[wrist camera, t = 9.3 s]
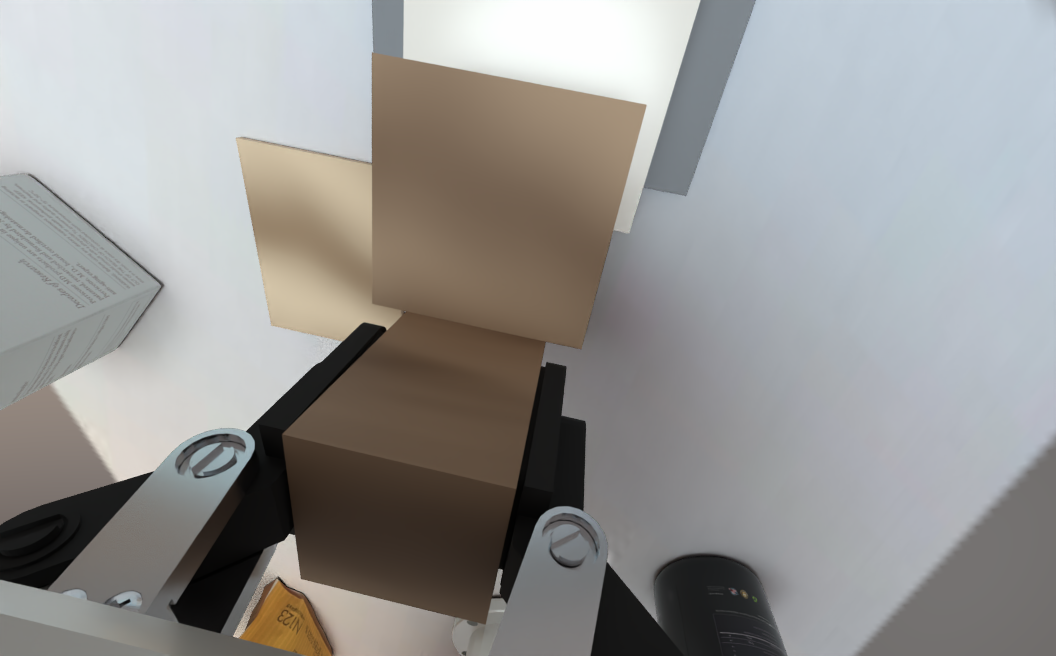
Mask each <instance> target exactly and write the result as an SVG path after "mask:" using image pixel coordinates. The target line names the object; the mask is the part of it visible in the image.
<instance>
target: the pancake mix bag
mask: <svg viewBox="0 0 1056 656" xmlns="http://www.w3.org/2000/svg"><path fill="white" fill-rule="evenodd" d="M239 639H243V640H247V641H251V642H255V643H259V644H263V645H267V646H271V647H274V648H278V649H282V650H286V651H290V652H294V653H298V654H302V655H306V656H332V649H331V647H330V645H329V643H328V640H327V638H326V636H325V633H324V631H323V630H322V628H321V626H320V624H319V622H318V621H317V619H316V616H315V613H314V611H313V609H312V607H311V605H310V603H309V601H308V600H307V599H306V597H305V596H304V594H302V593H299V592H297V591H295V590H292V589H290V588H287V587H286V586H285V585H284V584H282V583H281V582H280V581H279V580H278V579H275V580H274V581H273V582H271V583H269V584H267V585H266V586H265V587H264V590H263V593H262V596H261V598H260V600H259V602H258V603H257V605H256V607H255V608H254V610H253V611H252V614H251V616H250V619H249V621H248V624H247V627H246V629H245V631H244V632H243V634H242V635H241V636H240V637H239Z"/></svg>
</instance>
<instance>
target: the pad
mask: <svg viewBox="0 0 1056 656" xmlns="http://www.w3.org/2000/svg"><path fill="white" fill-rule="evenodd" d="M236 141H237V146H238V152H239V157H240V162H241V167H242V173H243V178H244V183H245V189H246V194H247V199H248V204H249V210H250V215H251V220H252V226H253V231H254V236H255V241H256V247H257V252H258V257H259V263H260V268H261V273H262V278H263V284H264V289H265V294H266V300H267V305H268V310H269V315H270V321H271V325H272V326H276V327H281V328H285V329H290V330H294V331H299V332H303V333H308V334H312V335H317V336H321V337H326V338H330V339H335V340H339V341H344V340H345V339H346V338H347V337H348V336H349V335H350V334H351V333H352V332H353V331H354V330H355V329H356V328H357V327H358V326H359V325H360V324H362V323H363V322H366V323H371V324H375V325H380V326H384V327H385V328H386V330H388V329H389V328H390V327H391V326H392V325H393V324H394V323H395V322H396V321H397V320H398V319H399V318H400V317H401V316H402V315H403V314H404V311H402V310H398V309H393V308H389V307H384V306H379V305H375V304H372V163H367V162H362V161H357V160H352V159H347V158H342V157H337V156H332V155H327V154H322V153H317V152H312V151H307V150H302V149H297V148H293V147H288V146H283V145H278V144H273V143H268V142H263V141H258V140H253V139H248V138H243V137H239V138H236Z"/></svg>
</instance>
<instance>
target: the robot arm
mask: <svg viewBox="0 0 1056 656" xmlns="http://www.w3.org/2000/svg"><path fill="white" fill-rule="evenodd" d="M386 331H387V330H386V328H385V327H384V326H380V325H375V324H371V323H366V322H363V323H362V324H360V325H359V326H358V327H357V328H356V329H355V330H354V331H353V332H352V333H351V334H350V335H349V336H348V337H347V338H346V339H345V340H344V341H343V342H342V343H341V344H340V345H339V346H338V347H337V348H336V349H335V350H334V351H333V352H332V353H330V354H329V355H328V356H327V357H326V358H325V359H324V360H323V361H322V362H321V363H318V364H316V365H315V366H314V367H313V368H311V369H310V370H309V371H308V372H307V373H306V374H305V375H304V376H303V377H302V378H301V379H300V380H299V381H298V382H297V383H296V384H295V385H294V386H293V387H292V388H291V389H290V390H289V391H288V392H286V393H285V394H284V395H283V396H282V397H281V398H280V399H279V400H278V401H277V402H276V403H275V404H274V405H273V406H272V407H271V408H270V409H269V410H268V411H267V412H266V413H265V414H264V415H262V416H261V417H260V418H259V419H258V420H257V421H256V422H255V423H254V424H253V425H252V426H251V427H250V428H249V429H248V430H247V431H246V432H245V431H243V430H239V429H234V428H220V429H215V430H211V431H206V432H204V433H201V434H199V435H196V436H193V437H192V438H190V439H188V440H187V441H185V442H183V443H182V444H180V445H179V446H178V447H177V448H176V449H175V450H174V451H172V452H171V454H170V455H169V456H168V457H167V458H166V459H165V460H164V461H163V462H162V464H161V465H160V466H159V467H158V468H157V469H156V470H155V471H153V472H150V473H147V474H143V475H140V476H137V477H133V478H130V479H127V480H124V481H120V482H117V483H114V484H111V485H107V486H104V487H100V488H97V489H94V490H91V491H88V492H84V493H81V494H77V495H74V496H71V497H68V498H64V499H61V500H58V501H54V502H51V503H48V504H44V505H41V506H39V507H36V508H34V509H31V510H28V511H26V512H23V513H21V514H19V515H17V516H16V517H14V518H12V519H10V520H8V521H6V522H4V523H3V524H1V525H0V656H306V655H302V654H298V653H294V652H290V651H286V650H282V649H278V648H274V647H271V646H267V645H263V644H259V643H255V642H251V641H247V640H243V639H239V638H235V637H233V635H234V633H235V631H236V629H237V627H238V624H239V622H240V620H241V618H242V616H243V614H244V612H245V610H246V608H247V606H248V604H249V602H250V600H251V598H252V596H253V594H254V592H255V590H256V588H257V586H258V584H259V582H260V580H261V578H262V576H263V574H264V572H265V570H266V568H267V566H268V564H269V562H270V560H271V558H272V556H273V554H274V552H275V550H276V547H277V544H278V543H279V542H281V541H284V540H285V539H286V537H287V536H288V534H293V535H295V529H294V522H293V514H292V507H291V499H290V492H289V484H288V476H287V469H286V461H285V454H284V446H283V439H282V434H283V433H284V432H285V431H286V430H287V429H288V428H289V427H290V426H291V425H292V424H293V423H294V422H295V421H296V420H297V419H298V418H299V417H300V416H301V415H302V414H303V413H304V412H305V411H306V410H307V409H308V408H309V407H310V406H311V405H312V404H313V403H314V402H315V401H316V400H317V399H318V398H319V397H320V396H321V395H322V394H323V393H324V392H325V391H326V390H327V389H328V388H329V387H330V386H331V385H332V384H333V383H334V382H335V381H336V380H337V379H338V378H339V377H340V376H341V375H342V374H344V373H345V372H346V371H347V370H348V369H349V368H350V367H351V366H352V365H353V364H354V363H355V362H356V361H357V360H358V359H359V358H360V357H361V356H362V355H363V354H364V353H365V352H366V351H367V350H368V349H369V348H370V347H371V346H372V345H373V344H374V343H375V342H376V341H377V340H378V339H379V338H380V337H381V336H382V335H383V334H384V333H385V332H386ZM565 377H566V366H562V365H558V364H553V363H549V362H547V363H546V367H542V366H541V368H540V373H539V378H538V383H537V388H536V393H535V398H534V403H533V408H532V413H531V418H530V423H529V428H528V433H527V438H526V443H525V448H524V453H523V458H522V463H521V468H520V473H519V478H518V483H517V488H516V492H515V497H514V501H513V506H512V510H511V514H510V519H509V523H508V528H507V532H506V537H505V541H504V546H503V550H502V554H501V559H500V563H499V568H498V569H502V570H503V573H502V578H501V583H500V585H501V588H500V594H501V596H502V597H503V598H493V599H491V603H490V608H489V612H488V617H487V621H486V625H485V624H481V623H477V622H473V621H469V620H465V619H461V618H457V617H456V620H455V622H454V626H453V630H452V636H451V637H452V641H453V645H454V646H455V648H456V650H457V651H458V653H459V654H460V655H461V656H684V655H683V654H682V652H681V651H680V650H679V649H678V648H677V646H676V645H675V644H674V643H673V641H672V640H671V639H670V638H669V637H668V635H667V634H666V633H665V632H664V631H663V629H662V628H661V627H660V626H659V625H658V623H657V622H656V621H655V620H654V618H653V617H652V616H651V615H650V614H649V612H648V611H647V610H646V609H645V608H644V606H643V605H642V604H641V603H640V602H639V600H638V599H637V598H636V597H635V595H634V594H633V593H632V592H631V591H630V589H629V588H628V587H627V586H626V585H625V583H624V582H623V581H622V580H621V579H620V577H619V576H618V575H617V574H616V573H615V571H614V570H613V569H612V568H611V566H610V565H609V564H608V563H607V557H608V543H607V540H606V537H605V534H604V532H603V530H602V529H601V527H600V525H599V524H598V523H597V522H596V521H595V520H594V519H593V518H592V517H591V516H590V515H589V514H587V513H585V512H583V508H584V475H585V441H586V422H585V421H582V420H578V419H574V418H569V417H565V416H561V414H562V404H563V395H564V386H565Z"/></svg>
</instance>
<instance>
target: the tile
mask: <svg viewBox="0 0 1056 656" xmlns="http://www.w3.org/2000/svg"><path fill="white" fill-rule="evenodd" d="M699 4H700V0H404V30H403V58H404V59H409V60H414V61H420V62H425V63H430V64H435V65H441V66H446V67H451V68H456V69H462V70H467V71H472V72H477V73H483V74H488V75H493V76H498V77H504V78H509V79H514V80H519V81H525V82H530V83H535V84H541V85H546V86H551V87H556V88H562V89H567V90H572V91H577V92H583V93H588V94H593V95H598V96H604V97H609V98H614V99H619V100H625V101H630V102H635V103H640V104H646V105H647V106H646V110H645V114H644V118H643V121H642V125H641V129H640V132H639V136H638V140H637V144H636V147H635V151H634V155H633V159H632V162H631V166H630V170H629V173H628V177H627V181H626V185H625V188H624V192H623V196H622V200H621V203H620V207H619V211H618V214H617V218H616V222H615V226H614V229H613V230H614V231H619V232H624V233H628V234H629V232H630V229H631V226H632V222H633V219H634V216H635V213H636V209H637V206H638V203H639V200H640V196H641V193H642V190H643V187H644V183H645V180H646V177H647V174H648V170H649V167H650V164H651V160H652V157H653V154H654V151H655V147H656V144H657V141H658V138H659V134H660V131H661V128H662V125H663V121H664V118H665V115H666V111H667V108H668V105H669V102H670V98H671V95H672V92H673V89H674V85H675V82H676V79H677V76H678V72H679V69H680V66H681V63H682V59H683V56H684V53H685V49H686V46H687V43H688V40H689V36H690V33H691V30H692V27H693V23H694V20H695V17H696V14H697V10H698V7H699Z"/></svg>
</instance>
